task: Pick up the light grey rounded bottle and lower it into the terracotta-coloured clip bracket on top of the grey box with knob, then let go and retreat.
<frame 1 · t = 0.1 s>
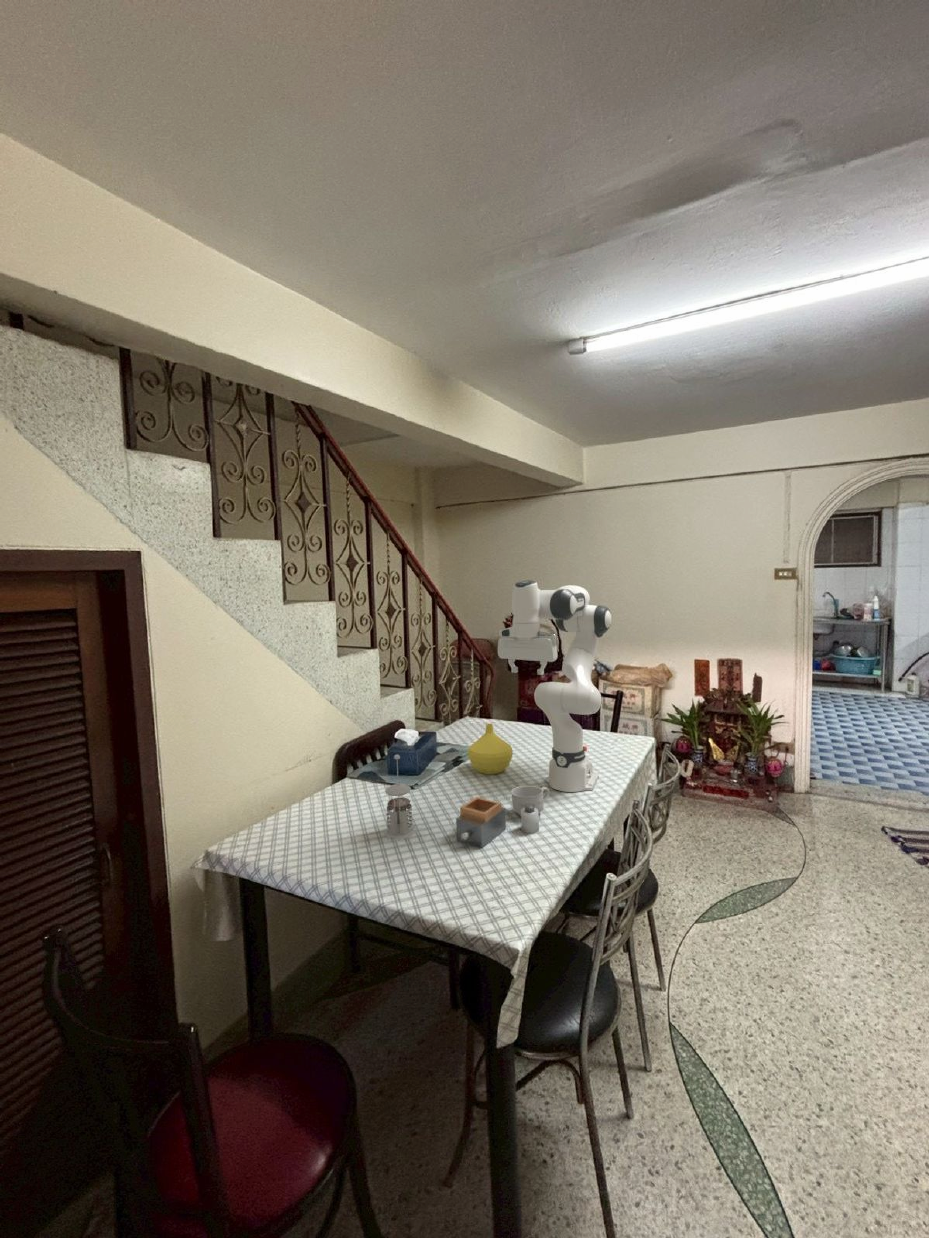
hand: (527, 673, 175), 48 cm above the table, fingers open, 8 cm apart
grey box with knob: (481, 834, 167), on the table
light grey rounded bottle: (530, 829, 170), on the table
teacup: (532, 813, 182), on the table
french press: (399, 833, 170), on the table
vase: (490, 770, 223), on the table
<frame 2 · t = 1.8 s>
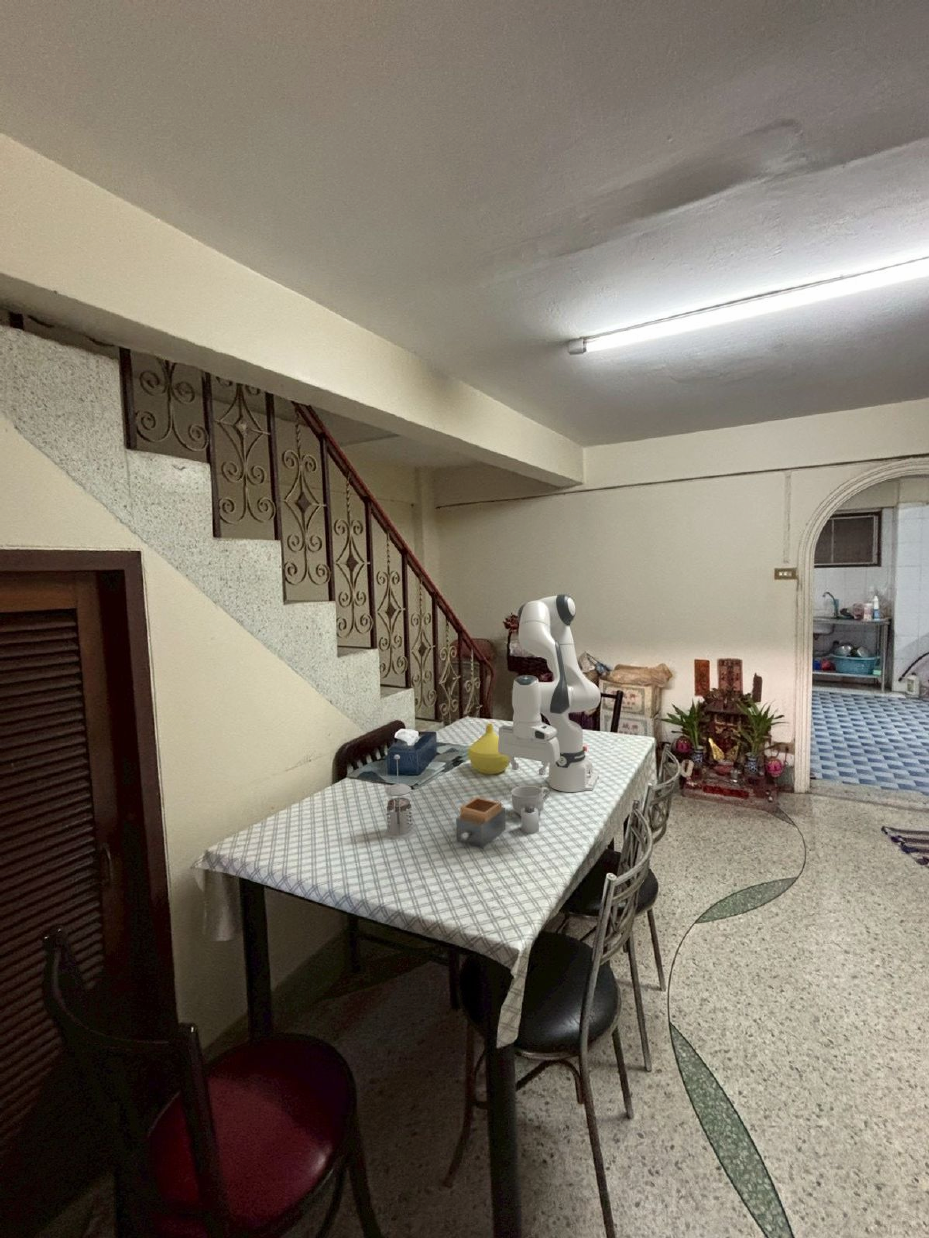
hand: (528, 772, 169), 18 cm above the table, fingers open, 8 cm apart
nothing on the table moved.
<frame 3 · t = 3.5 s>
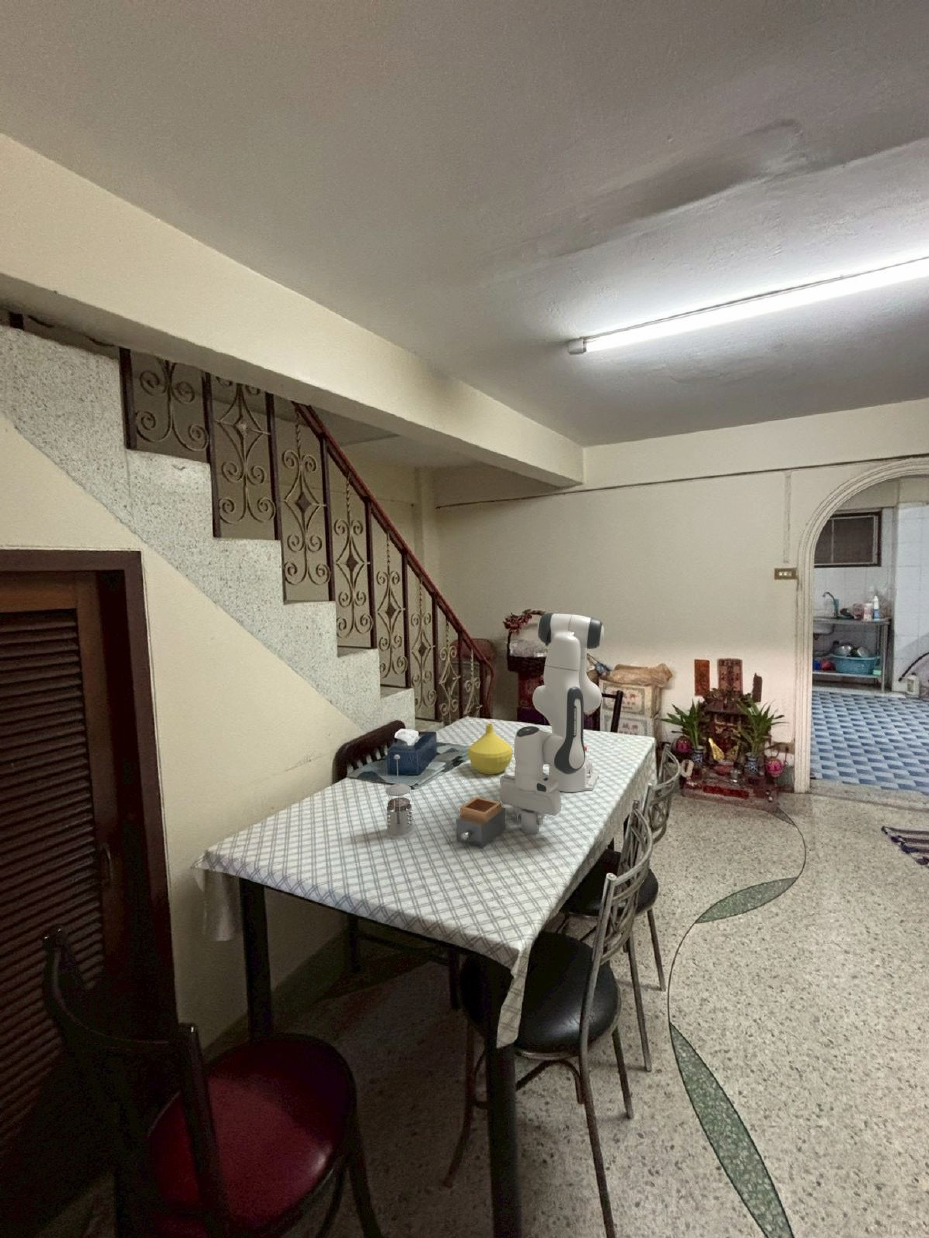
hand: (530, 822, 170), 2 cm above the table, fingers closed on light grey rounded bottle, 5 cm apart
light grey rounded bottle: (530, 829, 170), on the table, touching gripper
everything else where it was.
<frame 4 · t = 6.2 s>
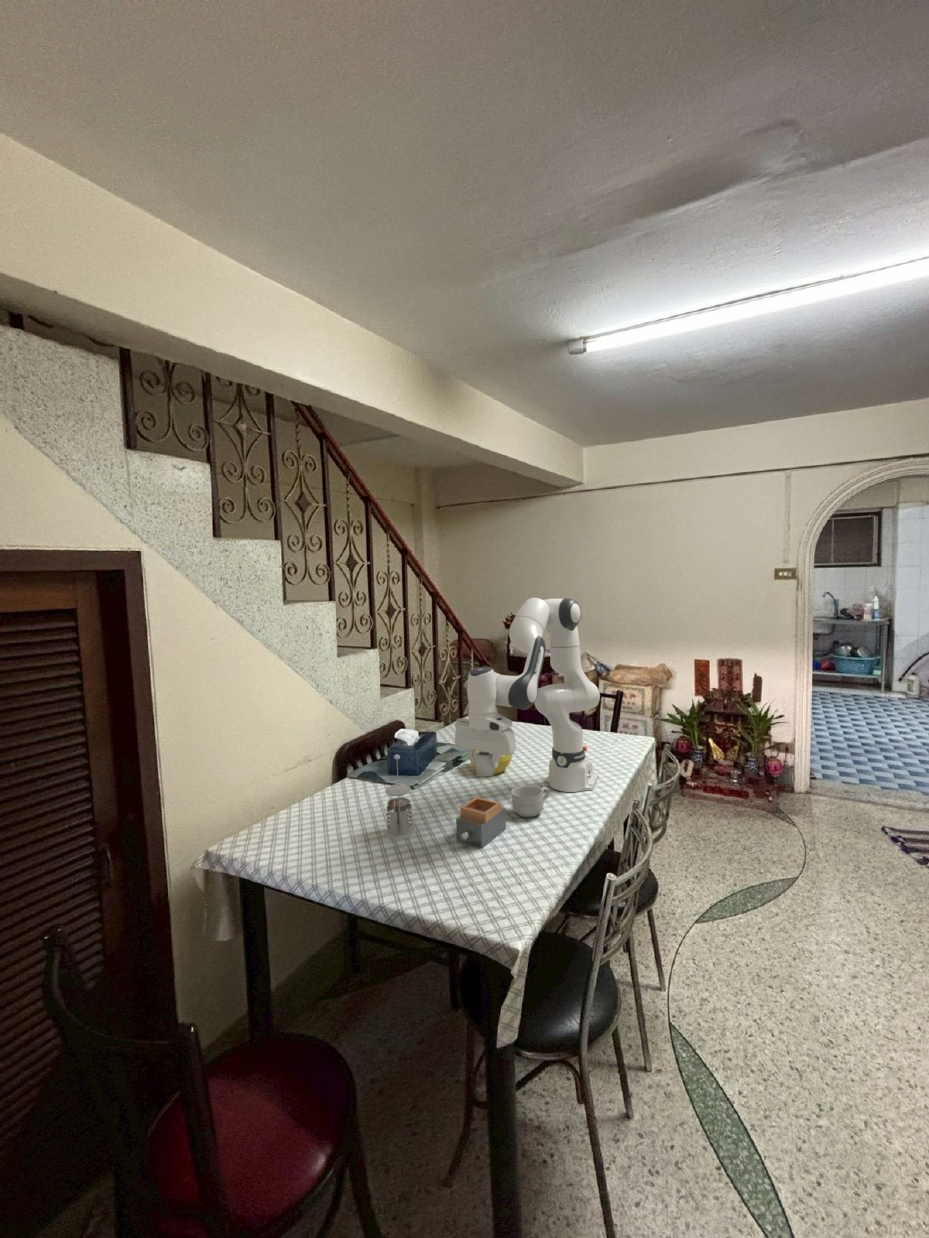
hand: (485, 765, 166), 22 cm above the table, fingers closed on light grey rounded bottle, 5 cm apart
light grey rounded bottle: (485, 773, 166), point 20 cm above the table, touching gripper
everything else where it was.
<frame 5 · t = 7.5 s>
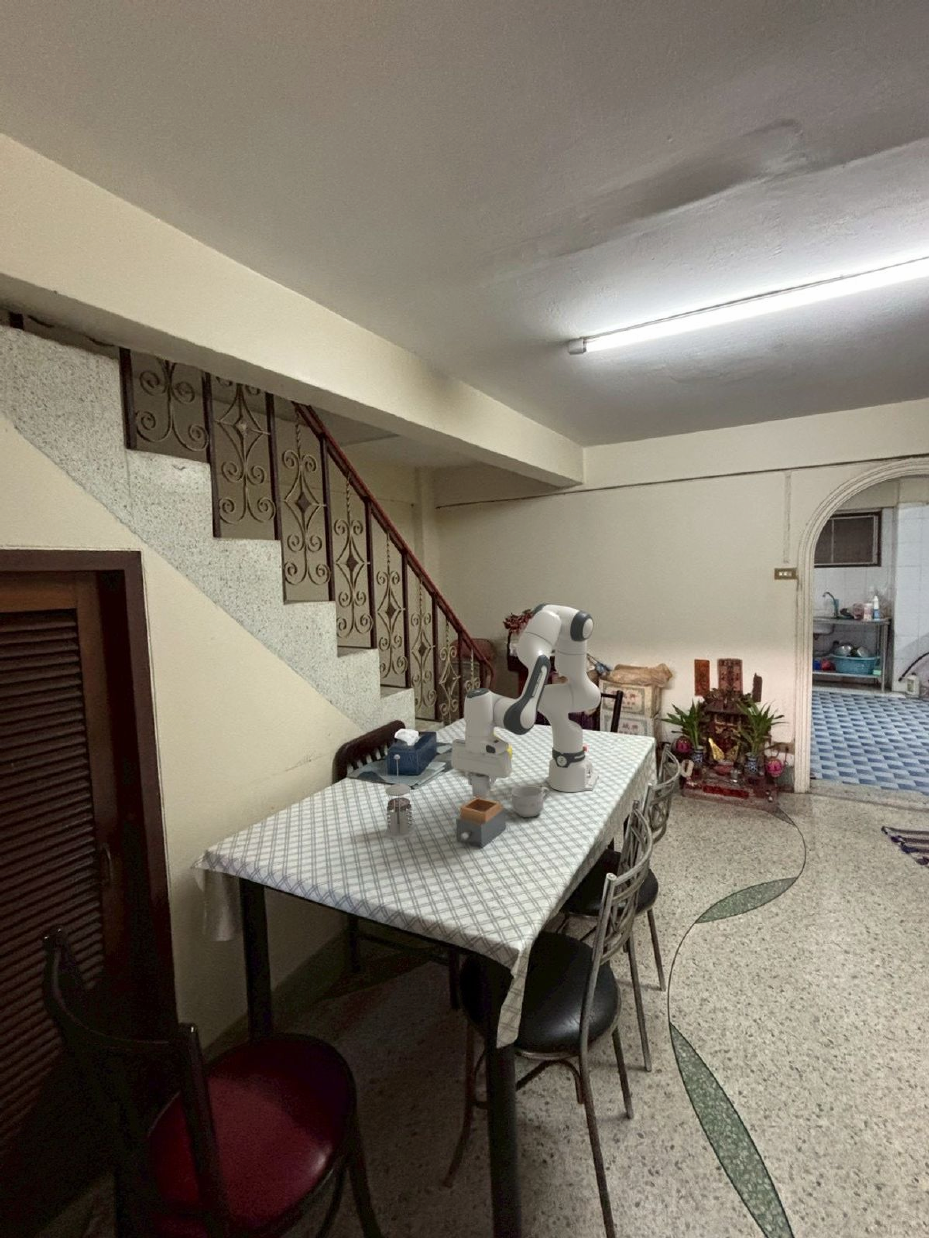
hand: (481, 786, 166), 16 cm above the table, fingers closed on light grey rounded bottle, 5 cm apart
light grey rounded bottle: (481, 794, 166), point 13 cm above the table, touching gripper
everything else where it was.
when the fingers open (11 cm above the table, at t = 8.8 s): light grey rounded bottle drops 1 cm, resting on grey box with knob.
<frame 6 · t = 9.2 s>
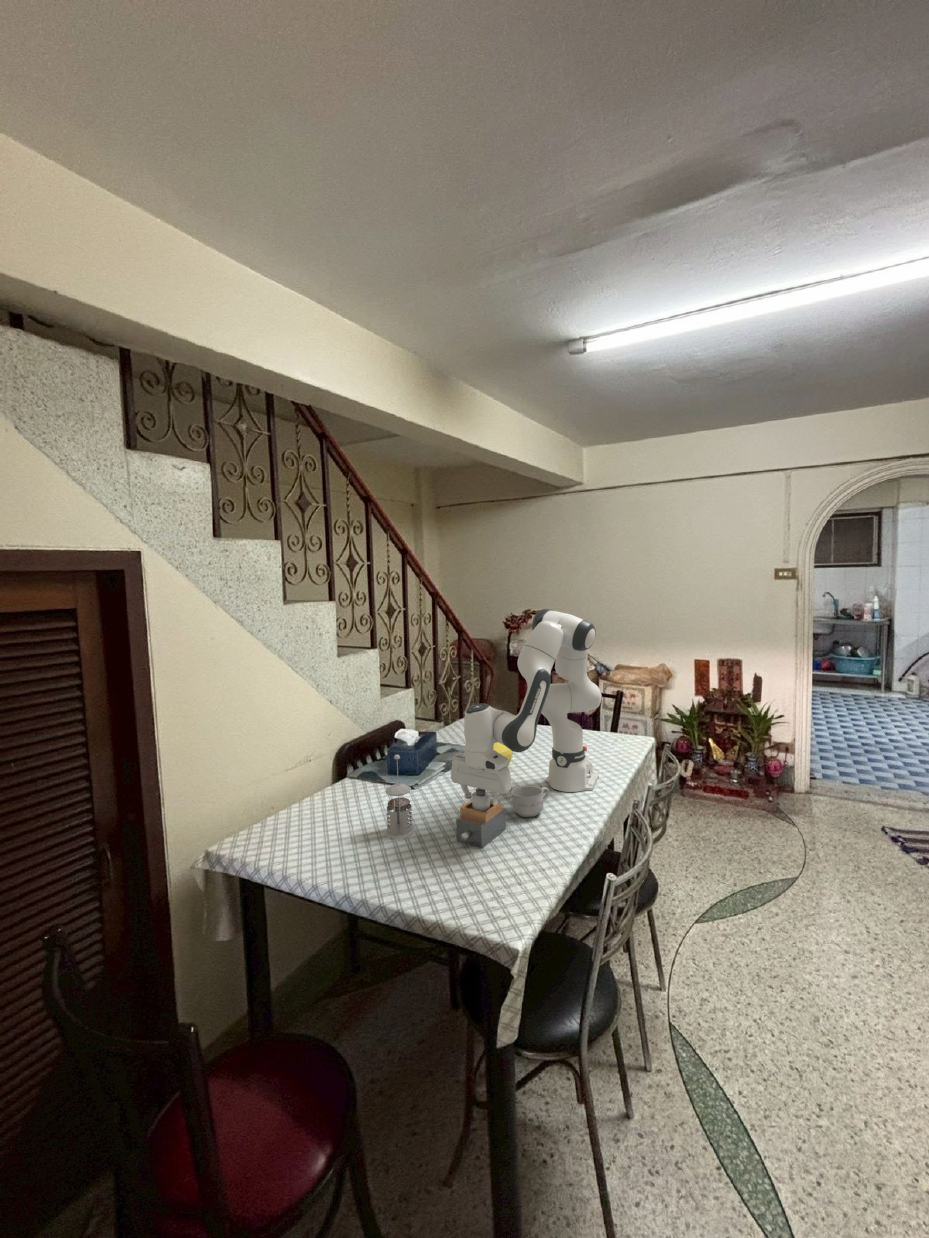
hand: (480, 801, 166), 11 cm above the table, fingers open, 8 cm apart
light grey rounded bottle: (481, 813, 167), point 7 cm above the table, touching grey box with knob
everything else where it was.
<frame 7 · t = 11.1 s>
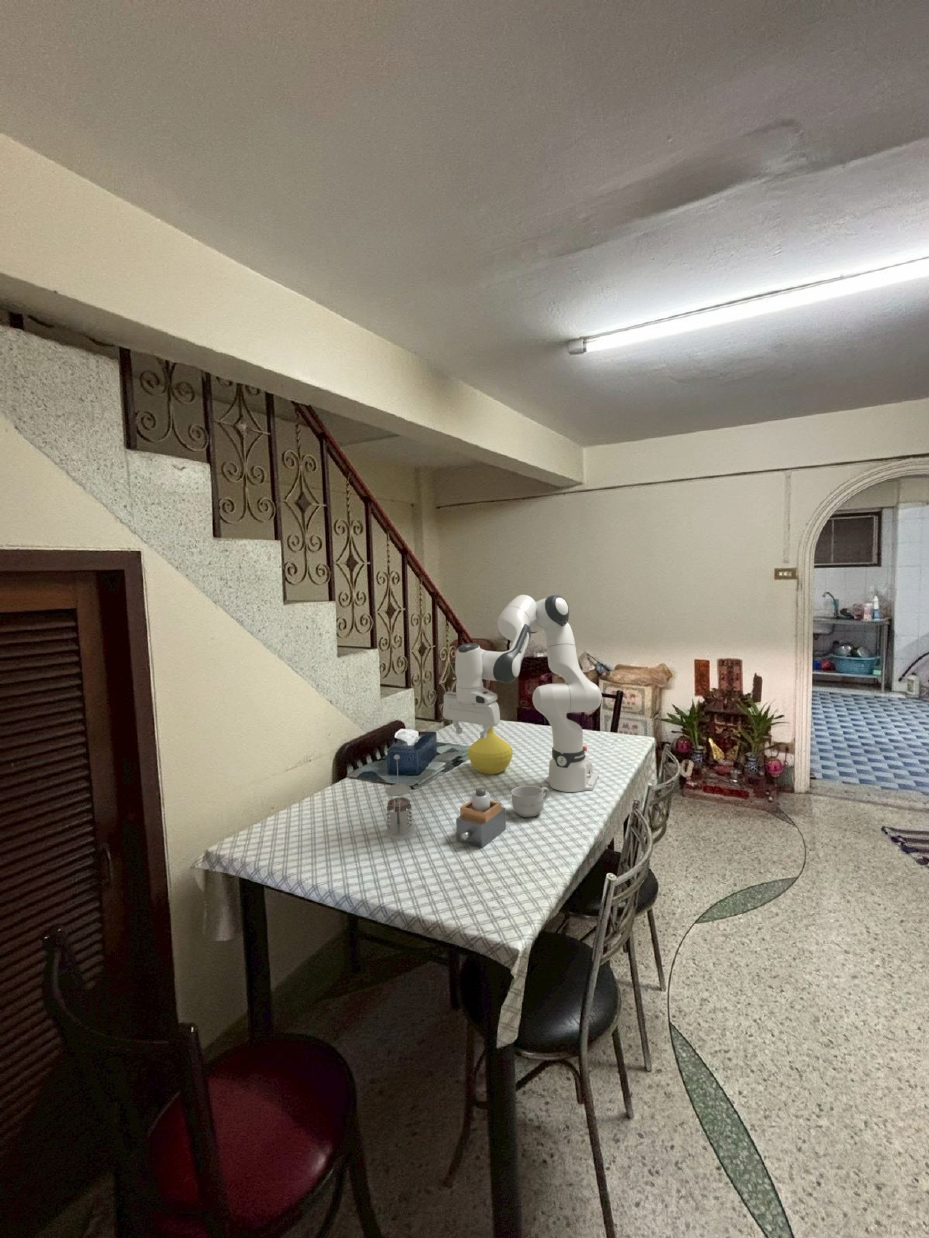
hand: (471, 735, 177), 28 cm above the table, fingers open, 8 cm apart
nothing on the table moved.
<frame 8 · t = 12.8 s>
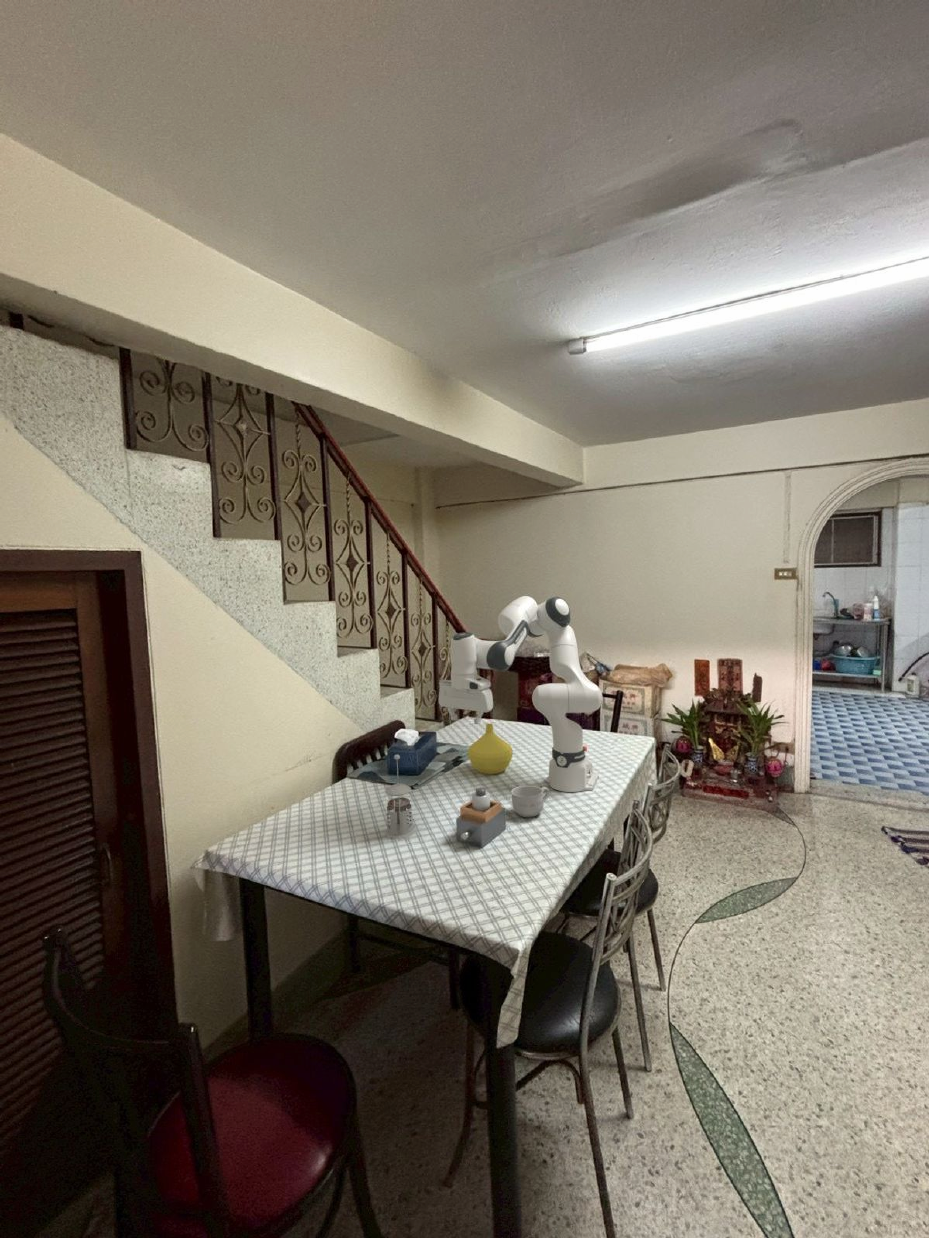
hand: (465, 721, 182), 31 cm above the table, fingers open, 8 cm apart
nothing on the table moved.
at the end: light grey rounded bottle 0.1 cm off-centre on the grey box with knob, point 7.0 cm above the grey box with knob's base; light grey rounded bottle tilted 0°; the gripper is holding nothing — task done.
